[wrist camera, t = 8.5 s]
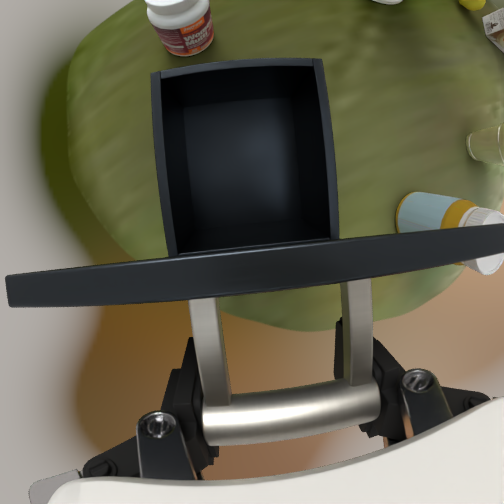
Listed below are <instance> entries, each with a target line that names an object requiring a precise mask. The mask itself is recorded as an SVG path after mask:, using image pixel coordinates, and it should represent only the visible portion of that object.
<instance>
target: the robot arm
mask: <svg viewBox="0 0 504 504" xmlns="http://www.w3.org/2000/svg"><path fill="white" fill-rule="evenodd" d="M373 1H376V2H379V3H383V4H397V3H400V2H401V1H403V0H373ZM335 337H336V338H335V357H334V377H335V380H337V379H341V378H344V351H343V320H342V317H341V318H340V321H337V322H336V335H335ZM372 376H373V377H374V378H375V380H376V382H377V384H378V387H379V390H380V395H381V411H380V414H379V416H378V418H376V419H375V420H373V421H370V422H366V423H363V424H359V427H360V429H361V431H362V432H366V433H367V435H368V436H369V438H371V437H374V436H377V435H379V436H383V442H384V448H383V449H381V450H378V451H375V452H372V453H369V454H366V455H363V456H359V457H356V458H353V459H349V460H346V461H342V462H339V463H335V464H331V465H327V466H322V467H318V468H313V469H309V470H304V471H299V472H293V473H287V474H280V475H274V476H267V477H257V478H247V479H234V480H205V479H204V476H203V473H202V471H201V470H203V469H204V468H205V467H207V466H208V465H213V462H214V457H218V456H219V446H210V445H208V444H207V443H206V441H205V439H204V436H203V431H202V425H201V404H202V400H203V397H204V394H203V389H202V384H201V379H200V373H199V368H198V362H197V357H196V351H195V345H194V338H193V337H189V339H188V343H187V347H186V351H185V355H184V359H183V363H182V367H181V369H172V371H171V374H170V378H169V381H168V385H167V388H166V392H165V395H164V399H163V402H162V406H161V410H160V411H153V412H149V413H147V414H145V415H144V416H142V417H141V418H140V419H139V421H138V423H137V425H136V436H134V437H133V438H131V439H129V440H127V441H125V442H123V443H121V444H120V445H117V446H115V447H113V448H112V449H110V450H108V451H106V452H104V453H102V454H100V455H98V456H95V457H93V458H92V459H90V460H89V461H88V462H87V463H86V464H85V465H84V468H83V470H82V471H78V470H77V469H75V470H72V471H69V472H66V473H63V474H60V475H56V476H53V477H50V478H46V479H43V480H39V481H37V482H35V483H33V484H32V485H31V486H30V489H29V498H30V502H31V504H504V396H502V397H493V399H492V400H491V399H490V398H489V397H488V396H487V395H485V394H483V393H480V392H475V391H468V390H461V389H454V388H448V387H442V386H440V384H439V382H438V380H437V378H436V376H435V375H434V374H433V373H431V372H430V371H428V370H425V369H411V370H408V371H405V370H404V369H403V368H402V366H401V365H400V364H399V363H398V362H397V361H396V360H395V358H394V357H393V356H392V355H391V354H390V353H389V352H388V351H387V349H386V348H385V347H384V346H383V345H382V344H381V343H380V342H379V341H378V340H376V339H375V338H374V337H373V363H372Z"/></svg>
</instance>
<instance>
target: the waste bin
mask: <svg viewBox="0 0 504 504" xmlns="http://www.w3.org/2000/svg"><path fill="white" fill-rule="evenodd" d="M151 102H152V121H153V135H154V148H155V159H156V169H157V178H158V187H159V195H160V203H161V210H162V217H163V224H164V231H165V237H166V243H167V249H168V255H169V257H174V256H183V255H193V254H202V253H211V252H221V251H230V250H239V249H249V248H258V247H268V246H277V245H287V244H297V243H306V242H316V241H326V240H335V239H339V211H338V191H337V176H336V163H335V152H334V141H333V132H332V123H331V115H330V107H329V100H328V93H327V86H326V80H325V74H324V68H323V63H322V59H315V58H313V59H311V58H259V59H242V60H230V61H220V62H212V63H204V64H197V65H191V66H185V67H179V68H174V69H169V70H164V71H161V72H160V71H158V72H154V73H151Z"/></svg>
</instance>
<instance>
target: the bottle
mask: <svg viewBox="0 0 504 504" xmlns="http://www.w3.org/2000/svg"><path fill="white" fill-rule="evenodd" d="M497 223H504V215H503V214H502V213H500V212H498V211H495V210H491V209H487V208H481V207H478V206H477V205H475V204H474V203H473V202H471V201H468V200H465V199H460V198H454V197H449V196H443V195H437V194H430V193H424V192H412V193H410V194H408V195H406V196H405V197H404V198H403V199H402V200H401V202H400V204H399V206H398V208H397V212H396V227H397V231H398V233H405V232H415V231H425V230H435V229H445V228H456V227H466V226H476V225H487V224H497ZM503 260H504V253H501V254H497V255H492V256H488V257H483V258H478V259H474V260H469V261H464V262H459V263H454V264H455V265H466V266H468V267H469V268H471V269H473V270H475V271H477V272H479V273H481V274H484V275H490V274H492V273H494V272H495V271H496V270H497V269H498V268H499V267H500V265H501V264H502V262H503Z"/></svg>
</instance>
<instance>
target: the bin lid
mask: <svg viewBox="0 0 504 504" xmlns="http://www.w3.org/2000/svg"><path fill="white" fill-rule="evenodd" d="M501 253H504V223H497V224H487V225H476V226H466V227H456V228H445V229H435V230H425V231H415V232H405V233H395V234H385V235H375V236H365V237H355V238H345V239H335V240H326V241H316V242H306V243H297V244H287V245H277V246H268V247H258V248H249V249H239V250H230V251H221V252H211V253H202V254H193V255H183V256H174V257H165V258H156V259H146V260H137V261H129V262H120V263H110V264H101V265H93V266H83V267H75V268H66V269H57V270H48V271H40V272H31V273H22V274H13V275H7V276H6V277H5V282H6V290H7V298H8V304H9V306H10V307H14V308H15V307H16V308H17V307H18V308H19V307H23V308H24V307H78V306H103V305H124V304H141V303H155V302H170V301H181V300H182V301H183V300H188V304H189V311H190V318H191V325H192V332H193V338H194V345H195V351H196V357H197V362H198V368H199V373H200V379H201V384H202V389H203V394H204V397H203V400H202V404H201V425H202V431H203V436H204V439H205V441H206V443H207V444H208V445H210V446H224V445H242V444H254V443H264V442H274V441H281V440H288V439H294V438H301V437H307V436H312V435H317V434H322V433H327V432H331V431H335V430H340V429H344V428H348V427H351V426H355V425H359V424H363V423H366V422H370V421H373V420H375V419H376V418H378V416H379V414H380V411H381V395H380V390H379V387H378V384H377V382H376V380H375V378H374V377H373V376H372V363H373V314H372V290H371V278H376V277H382V276H388V275H394V274H400V273H406V272H412V271H417V270H423V269H428V268H434V267H439V266H444V265H449V264H454V263H459V262H464V261H469V260H474V259H478V258H483V257H488V256H492V255H497V254H501ZM336 283H340V286H341V301H342V320H343V351H344V378H341V379H337V380H332V381H327V382H322V383H316V384H311V385H305V386H299V387H293V388H285V389H278V390H270V391H262V392H252V393H242V394H232V392H231V386H230V379H229V373H228V366H227V359H226V352H225V345H224V338H223V330H222V322H221V315H220V307H219V298H218V297H228V296H238V295H247V294H257V293H266V292H274V291H283V290H291V289H299V288H307V287H314V286H322V285H329V284H336Z"/></svg>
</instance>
